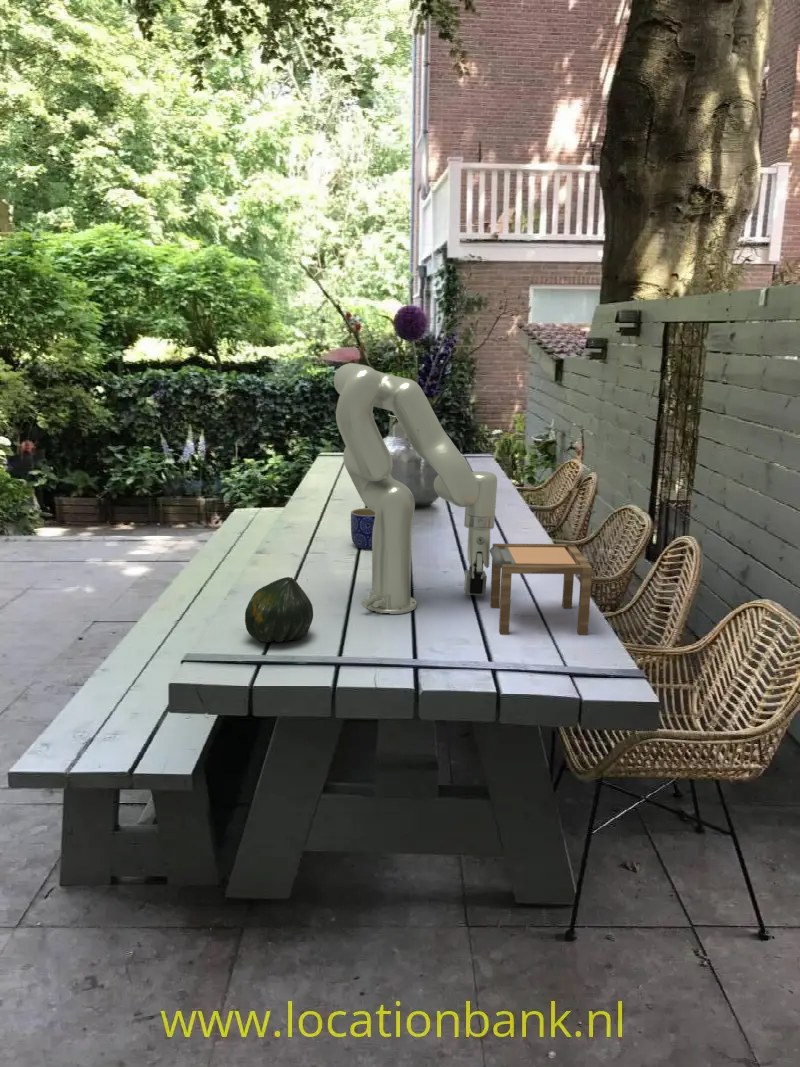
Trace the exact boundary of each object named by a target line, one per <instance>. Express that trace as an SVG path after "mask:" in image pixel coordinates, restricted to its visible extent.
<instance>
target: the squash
mask: <svg viewBox="0 0 800 1067" xmlns="http://www.w3.org/2000/svg"><path fill="white" fill-rule="evenodd" d="M313 618H314V607H313V604H312V602H311V600H310V598H309V597H308V595H307V594H306V592H305V591H304V590H303V588H302V587H301V586H300V585H299V583H298V582H297V581H296V580H295V579H294V578H293V577H290V576H287V577H281V578H279V579H277V580H275V581H272V582H270V583H268V584H266V585H264V586H262V587H261V588H258V589H257V590H256V591H255V592H254V593H253V594H252V597H251V598H250V600H249V602H248V604H247V606H246V608H245V612H244V622H245V623H244V624H245V629H246V631H247V632H248V635H249V636H251V637H252V638H253V639H254V640H255V639H256V640H257V641H258V640H259V641H261V642H263V643H271V642H273V641H275V642H279V643H281V642H283V641H299V640H301V639H303V638H305V637H306V636H307V635H308V633H309V631H310V628H311V625H312V622H313Z"/></svg>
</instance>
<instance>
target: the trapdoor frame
mask: <svg viewBox="0 0 800 1067" xmlns="http://www.w3.org/2000/svg"><path fill="white" fill-rule="evenodd" d="M494 546H497V547H498V548H499V549H503V550H504V547H564V548H565V549H566V551H567V552H568V553H569V555H570V556H571V557H572V559H573V560H574V562H575V563H576V565H502V568H498V567H496V565H495V563H494V561H493V558H492V557H491V577H490V578H491V579H490V580H491V581H490V608H491V609H499V622H498V623H499V624H498V632H499V635H509V634H510V615H511V613H510V612H511V594H512V593H511V592H512V575H513V574H514V575H515V574H516V575H517V574H520V575H521V574H522V575H523V574H524V575H525V574H526V575H527V574H528V575H534V574H535V575H537V574H538V575H563V584H562V585H563V586H562V599H561V600H562V602H561V607H562V608H563V609H569V610H570V609H572V608H573V593H574V579H575V575H580V580H579V583H580V584H579V594H578V595H579V596H578V597H579V598H578V612H577V628H576V632H577V634H578V636H589V634H588V632H589V618H590V608H591V607H590V605H591V604H590V603H591V590H592V580H593V579H592V577H593V576H592V575H593V567H592V565H591V564H590V562H589V561H588V560H587V559H586V557H584V555H583V554H582V552H581V551H580V550H579V549H578V547H577V546H576V545H575V544H574V543H492V547H494Z"/></svg>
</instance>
